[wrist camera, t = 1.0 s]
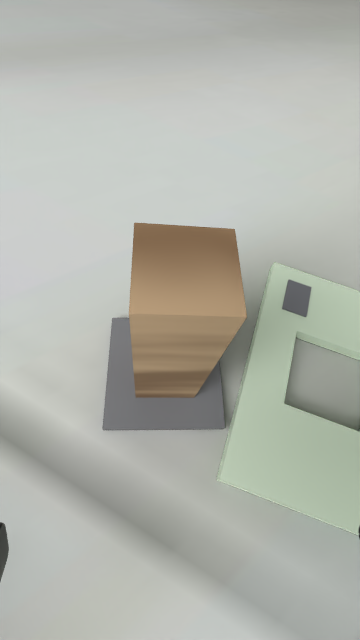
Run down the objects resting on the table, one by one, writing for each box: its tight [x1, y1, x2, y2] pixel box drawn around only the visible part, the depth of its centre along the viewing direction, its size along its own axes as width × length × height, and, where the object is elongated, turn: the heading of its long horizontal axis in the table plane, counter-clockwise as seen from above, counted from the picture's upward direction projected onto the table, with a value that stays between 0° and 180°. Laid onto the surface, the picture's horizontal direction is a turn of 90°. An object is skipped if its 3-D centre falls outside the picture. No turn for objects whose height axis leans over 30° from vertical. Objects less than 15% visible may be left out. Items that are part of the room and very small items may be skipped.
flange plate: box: [216, 262, 360, 535], centre depth 23 cm, size 18×12×1 cm, turn 161°
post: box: [129, 223, 247, 398], centre depth 17 cm, size 4×4×12 cm
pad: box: [103, 318, 225, 430], centre depth 22 cm, size 8×8×1 cm
